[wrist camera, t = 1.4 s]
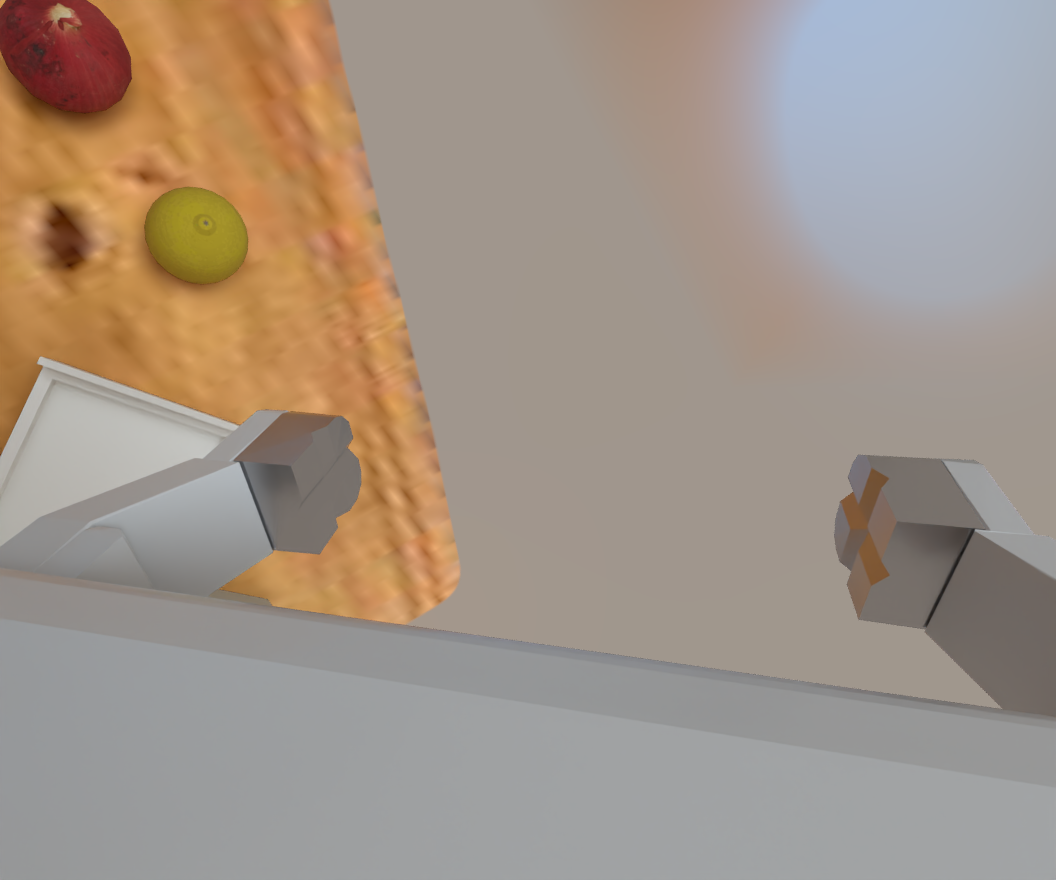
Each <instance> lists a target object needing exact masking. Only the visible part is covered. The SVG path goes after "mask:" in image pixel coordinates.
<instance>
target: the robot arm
mask: <svg viewBox="0 0 1056 880" xmlns="http://www.w3.org/2000/svg"><path fill="white" fill-rule="evenodd" d="M352 439H353V435H352V432H351V428H350V425H349V422H348V421H347V420H346V419H345V418H343V417H342V416H336V415H325V414H315V413H304V412H294V411H291V412H289V411H284V410H267V409H266V410H258V411H256V412H255V413H254V414H253V415H252V416H251V417H249V418H248V419H247V420H246V421H245V422H244V423H243V424H241V425H240V426H239V427H238V428H237V429H236V430H235V431H234V432H232V433H231V434H230V435H229V436H228V437H227V438H226V439H224V440H223V441H222V442H221V443H220V444H219V445H218V446H216V447H215V448H214V449H213V450H212V451H211V452H210V453H208V454H207V455H206V456H205V457H204V458H203V459H202V458H193V459H190V460H188V461H185V462H183V463H180V464H177V465H175V466H172V467H169V468H167V469H164V470H162V471H159V472H156V473H154V474H151V475H148V476H146V477H143V478H141V479H138V480H135V481H133V482H130V483H128V484H125V485H122V486H120V487H117V488H114V489H112V490H109V491H107V492H104V493H101V494H99V495H96V496H93V497H91V498H88V499H86V500H83V501H80V502H78V503H75V504H72V505H70V506H67V507H65V508H62V509H59V510H57V511H54V512H52V513H49V514H46V515H44V516H41V517H39V518H38V519H36V520H35V521H34V522H32V523H31V524H30V525H28V526H27V527H26V528H24V529H23V530H22V531H20V532H19V533H18V534H16V535H15V536H14V537H12V538H11V539H10V540H8V541H7V542H6V543H4V544H3V545H2V546H0V880H1056V540H1054V539H1052V538H1050V537H1049V536H1040V535H1034V533H1033V532H1032V531H1031V529H1030V528H1029V526H1028V525H1027V524H1026V523H1025V521H1024V520H1023V518H1022V517H1021V516H1020V514H1019V513H1018V512H1017V510H1016V509H1015V508H1014V506H1013V505H1012V504H1011V502H1010V501H1009V499H1008V498H1007V497H1006V495H1005V494H1004V493H1003V491H1002V490H1001V489H1000V487H999V486H998V485H997V483H996V482H995V481H994V479H993V478H992V477H991V475H990V474H989V472H988V471H987V470H986V468H985V467H984V466H983V465H982V464H981V463H979V462H977V461H975V460H961V459H929V458H910V457H891V456H870V455H858V456H857V457H856V459H855V460H854V462H853V464H852V467H851V470H850V473H849V476H848V479H849V482H850V484H851V487H852V489H853V492H852V493H851V494H850V495H848V496H847V497H845V498H844V499H843V500H841V501H840V505H839V508H838V512H837V516H836V520H835V534H834V537H835V545H836V551H837V554H838V558H839V561H840V562H841V563H842V564H843V565H844V566H846V567H847V568H848V569H849V570H850V571H851V574H850V577H849V580H848V582H847V586H848V589H849V592H850V595H851V598H852V601H853V604H854V607H855V610H856V613H857V616H858V619H859V620H865V621H872V622H879V623H886V624H893V625H899V626H907V627H913V628H920V629H926V630H925V633H926V634H927V635H928V636H929V637H930V638H932V640H933V641H934V642H935V643H937V645H938V646H940V647H941V648H942V649H943V650H944V651H945V652H946V653H947V654H948V655H949V656H950V657H951V658H952V659H953V660H954V661H955V662H956V663H957V664H958V665H959V666H960V667H961V668H962V669H963V670H964V671H965V672H966V673H967V674H968V675H969V676H970V677H971V678H972V679H973V680H974V681H975V682H976V683H977V684H978V685H979V686H980V687H981V688H982V689H983V690H984V691H986V693H988V695H989V696H990V697H991V698H992V699H993V700H994V701H995V702H996V703H997V704H998V705H1000V706H1001V707H1002V708H1003V709H998V708H991V707H983V706H976V705H970V704H962V703H955V702H947V701H939V700H933V699H926V698H918V697H911V696H903V695H897V694H889V693H882V692H875V691H868V690H861V689H853V688H847V687H840V686H833V685H826V684H819V683H811V682H804V681H798V680H790V679H783V678H776V677H770V676H763V675H756V674H749V673H742V672H735V671H727V670H720V669H713V668H705V667H699V666H692V665H685V664H678V663H671V662H664V661H657V660H650V659H643V658H636V657H628V656H622V655H615V654H608V653H601V652H594V651H587V650H580V649H572V648H566V647H558V646H551V645H544V644H536V643H529V642H522V641H515V640H508V639H501V638H494V637H486V636H480V635H472V634H465V633H458V632H451V631H444V630H437V629H429V628H423V627H415V626H408V625H401V624H394V623H387V622H380V621H373V620H366V619H358V618H351V617H344V616H337V615H330V614H323V613H316V612H309V611H302V610H295V609H288V608H281V607H274V606H266V605H259V604H252V603H245V602H238V601H231V600H224V599H217V598H210V597H207V596H208V595H210V594H211V593H213V592H214V591H216V590H217V589H219V588H220V587H222V586H223V585H225V584H226V583H228V582H229V581H231V580H232V579H234V578H235V577H237V576H238V575H240V574H241V573H243V572H244V571H246V570H247V569H249V568H250V567H252V566H253V565H255V564H256V563H258V562H259V561H261V560H262V559H264V558H265V557H267V556H268V555H270V554H271V553H273V550H278V551H289V552H300V553H311V554H320V553H321V551H322V550H323V548H324V547H325V546H326V544H327V543H328V541H329V540H330V538H331V537H332V536H333V534H334V533H335V531H336V530H337V528H338V525H337V522H336V518H337V517H339V516H340V515H342V514H344V513H346V512H348V511H350V509H351V508H352V506H353V505H354V503H355V502H356V500H357V498H358V494H359V490H360V486H361V469H360V464H359V460H358V458H357V457H356V456H355V455H354V454H353V453H352V452H351V451H350V450H349V449H348V446H349V444H350V443H351V441H352Z"/></svg>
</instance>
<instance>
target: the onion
mask: <svg viewBox="0 0 1056 880" xmlns="http://www.w3.org/2000/svg"><path fill="white" fill-rule="evenodd" d="M0 51H1V53H2V55H3V58H4V60H5V62H6V65H7V67H8V69H9V70H10V71H11V73H12V74H13V75H14V76H15V77H16V78H17V79H18V80H19V81H20V82H21V83H22V84H23V85H24V86H25V87H26V89H27V90H28V91H29V92H30V93H31V94H32V95H33V96H35V97H37V98H39V99H41V100H43V101H44V102H46V103H48V104H50V105H52V106H54V107H56V108H58V109H60V110H66V111H73V112H80V113H89V112H96V111H102V110H106V109H108V108H109V107H111V106H112V105H114V104H115V103H117V102H118V101H120V100H121V99H122V97H123V95H124V93H125V91H126V89H127V87H128V85H129V83H130V81H131V79H132V76H131V57H130V55H129V52H128V50H127V48H126V46H125V43H124V41H123V39H122V37H121V35H120V33H119V31H118V29H117V28H116V27H115V26H114V25H113V24H112V23H111V22H110V21H109V19H108V18H107V17H106V16H105V15H104V14H103V13H102V12H101V11H100V10H99V8H97V7H96V6H94V5H93V4H91V3H90V2H88V1H87V0H6V1H5V3H4V4H3V5H2V7H1V8H0Z"/></svg>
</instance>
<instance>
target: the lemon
mask: <svg viewBox="0 0 1056 880" xmlns="http://www.w3.org/2000/svg"><path fill="white" fill-rule="evenodd" d="M145 239H146V242H147V244H148V247H149V250H150V252H151V254H152V255H153V256H154V258H155V259H156V261H157V262H158V263H159V264H160V265H161V266H162V267H163V268H164V269H165V270H166V271H167V272H169V273H170V274H172V275H174V276H175V277H177V278H179V279H182V280H185V281H188V282H191V283H198V284H209V283H216V282H219V281H222V280H224V279H227V278H228V277H229V276H231V275H232V274H234V273H235V272H236V271H237V270H238V269H239V267H240V266H241V265H242V263H243V262H244V259H245V257H246V254H247V250H248V235H247V230H246V226H245V224H244V222H243V220H242V218H241V216H240V214H239V213H238V212H237V210H236V209H235V208H234V206H233V205H231V204H230V203H229V202H228V201H227V200H226V199H224V198H223V197H221V196H219V195H218V194H216V193H214V192H212V191H209V190H206V189H202V188H196V187H183V188H177V189H174V190H171V191H169V192H167V193H165V194H163V195H162V196H161V197H159V198H158V199H157V200H156V201H155V202H154V203H153V204H152V206H151V208H150V209H149V211H148V213H147V216H146V221H145Z"/></svg>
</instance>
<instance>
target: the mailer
mask: <svg viewBox="0 0 1056 880" xmlns="http://www.w3.org/2000/svg"><path fill="white" fill-rule="evenodd" d="M37 364H40V365H43V368H42V370H41V372H40V375H39V377H38V379H37V381H36V383H35V385H34V387H33V389H32V391H31V393H30V396H29V398H28V400H27V402H26V404H25V406H24V408H23V410H22V412H21V414H20V417H19V419H18V421H17V423H16V425H15V427H14V429H13V431H12V433H11V435H10V437H9V440H8V442H7V444H6V446H5V448H4V450H3V452H2V454H1V456H0V546H2V545H3V544H4V543H6V542H7V541H8V540H10V539H11V538H12V537H14V536H15V535H16V534H18V533H19V532H20V531H22V530H23V529H24V528H26V527H27V526H28V525H30V524H31V523H32V522H34V521H35V520H36V519H38V518H39V517H41V516H44V515H46V514H49V513H52V512H54V511H57V510H59V509H62V508H65V507H67V506H70V505H72V504H75V503H78V502H80V501H83V500H86V499H88V498H91V497H93V496H96V495H99V494H101V493H104V492H107V491H109V490H112V489H114V488H117V487H120V486H122V485H125V484H128V483H130V482H133V481H135V480H138V479H141V478H143V477H146V476H148V475H151V474H154V473H156V472H159V471H162V470H164V469H167V468H169V467H172V466H175V465H177V464H180V463H183V462H185V461H188V460H190V459H193V458H202V459H203V458H204V457H205V456H206V455H207V454H208V453H210V452H211V451H212V450H213V449H214V448H215V447H216V446H218V445H219V444H220V443H221V442H222V441H223V440H224V439H226V438H227V437H228V436H229V435H230V434H231V433H232V432H234V431H235V430H236V429H237V428H238V427H239V426H240V425H238V424H235V423H233V422H230V421H227V420H224V419H221V418H218V417H215V416H213V415H210V414H207V413H204V412H201V411H198V410H196V409H193V408H190V407H187V406H184V405H181V404H178V403H176V402H173V401H170V400H167V399H164V398H161V397H159V396H156V395H153V394H150V393H147V392H144V391H142V390H139V389H136V388H133V387H130V386H127V385H124V384H122V383H119V382H116V381H113V380H110V379H107V378H105V377H102V376H99V375H96V374H93V373H90V372H87V371H85V370H82V369H79V368H76V367H73V366H70V365H68V364H65V363H62V362H59V361H56V360H53V359H49V358H45V357H41V356H40V358H39V360H38V362H37Z"/></svg>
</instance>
